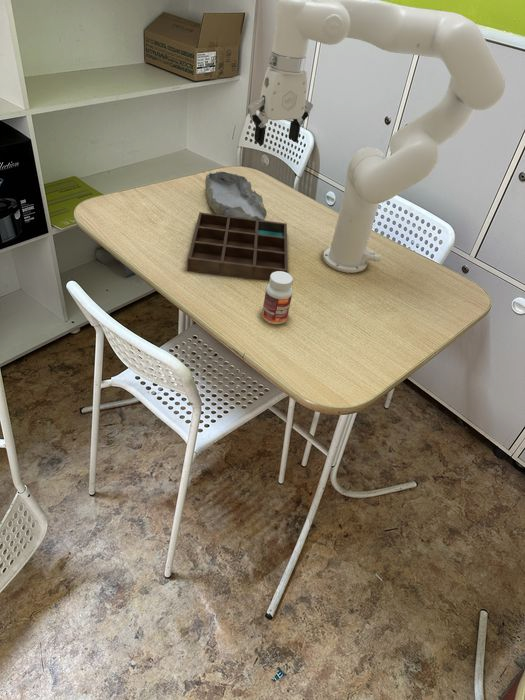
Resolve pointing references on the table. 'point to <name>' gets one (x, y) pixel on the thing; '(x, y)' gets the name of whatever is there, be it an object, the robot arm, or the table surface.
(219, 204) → the stone
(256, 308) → the table surface
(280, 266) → the grid board
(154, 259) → the table surface
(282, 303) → the pill bottle
